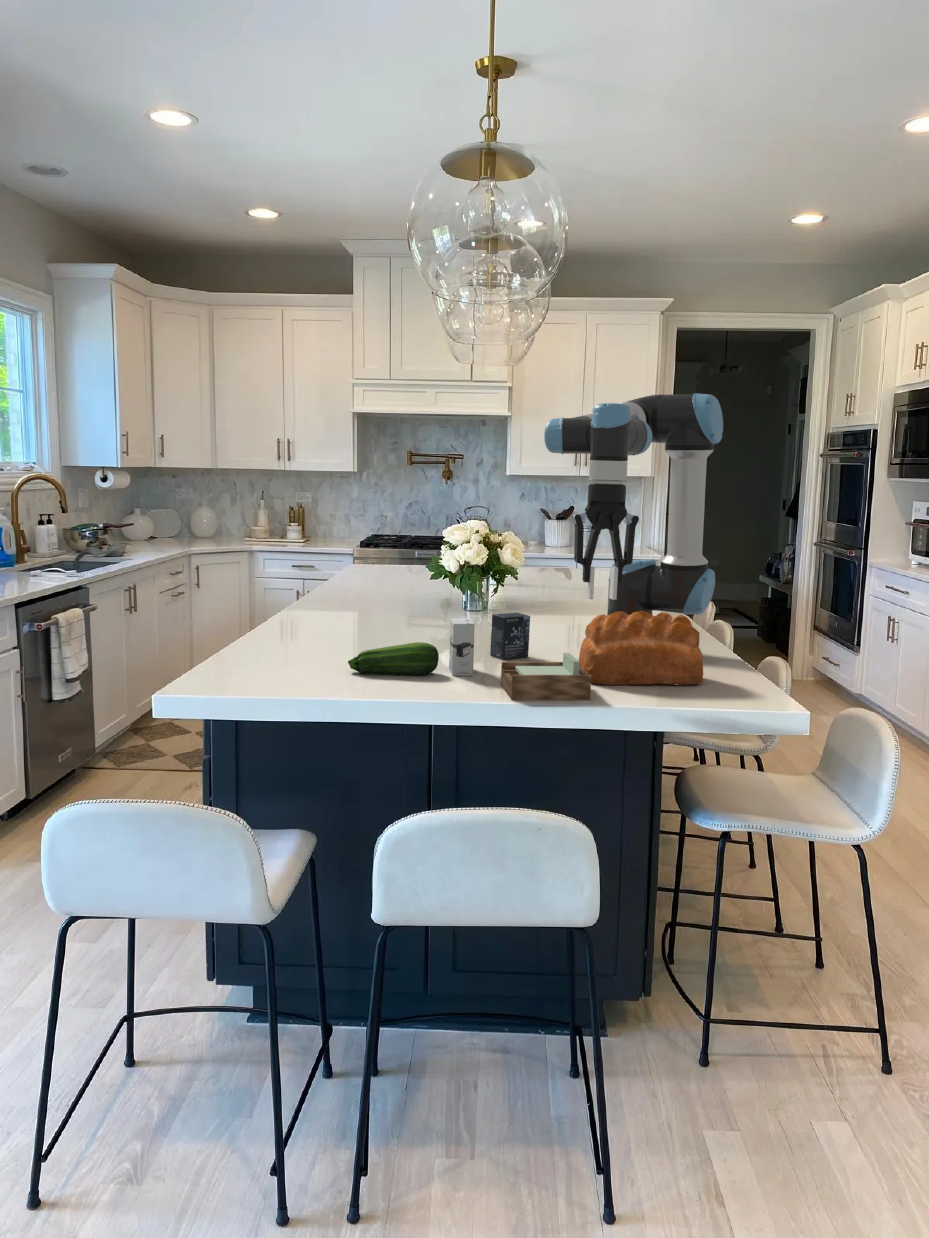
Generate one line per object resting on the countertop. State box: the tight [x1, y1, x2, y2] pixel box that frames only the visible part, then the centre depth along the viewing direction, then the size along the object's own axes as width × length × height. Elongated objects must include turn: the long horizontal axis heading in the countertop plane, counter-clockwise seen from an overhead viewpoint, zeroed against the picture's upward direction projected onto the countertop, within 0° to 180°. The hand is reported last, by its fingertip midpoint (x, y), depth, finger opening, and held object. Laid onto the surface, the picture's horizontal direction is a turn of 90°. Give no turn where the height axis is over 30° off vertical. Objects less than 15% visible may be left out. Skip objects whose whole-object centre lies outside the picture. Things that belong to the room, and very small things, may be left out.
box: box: [489, 612, 531, 661], centre depth 220 cm, size 8×6×11 cm
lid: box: [515, 652, 581, 675], centre depth 184 cm, size 12×10×4 cm
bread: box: [578, 611, 704, 686], centre depth 199 cm, size 14×26×16 cm, turn 95°
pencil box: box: [500, 661, 592, 701], centre depth 185 cm, size 16×13×5 cm
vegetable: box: [347, 641, 440, 676], centre depth 198 cm, size 7×7×20 cm
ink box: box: [448, 617, 475, 677], centre depth 201 cm, size 8×5×12 cm, turn 5°
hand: (601, 598), depth 184 cm, fingers open, 4 cm apart
